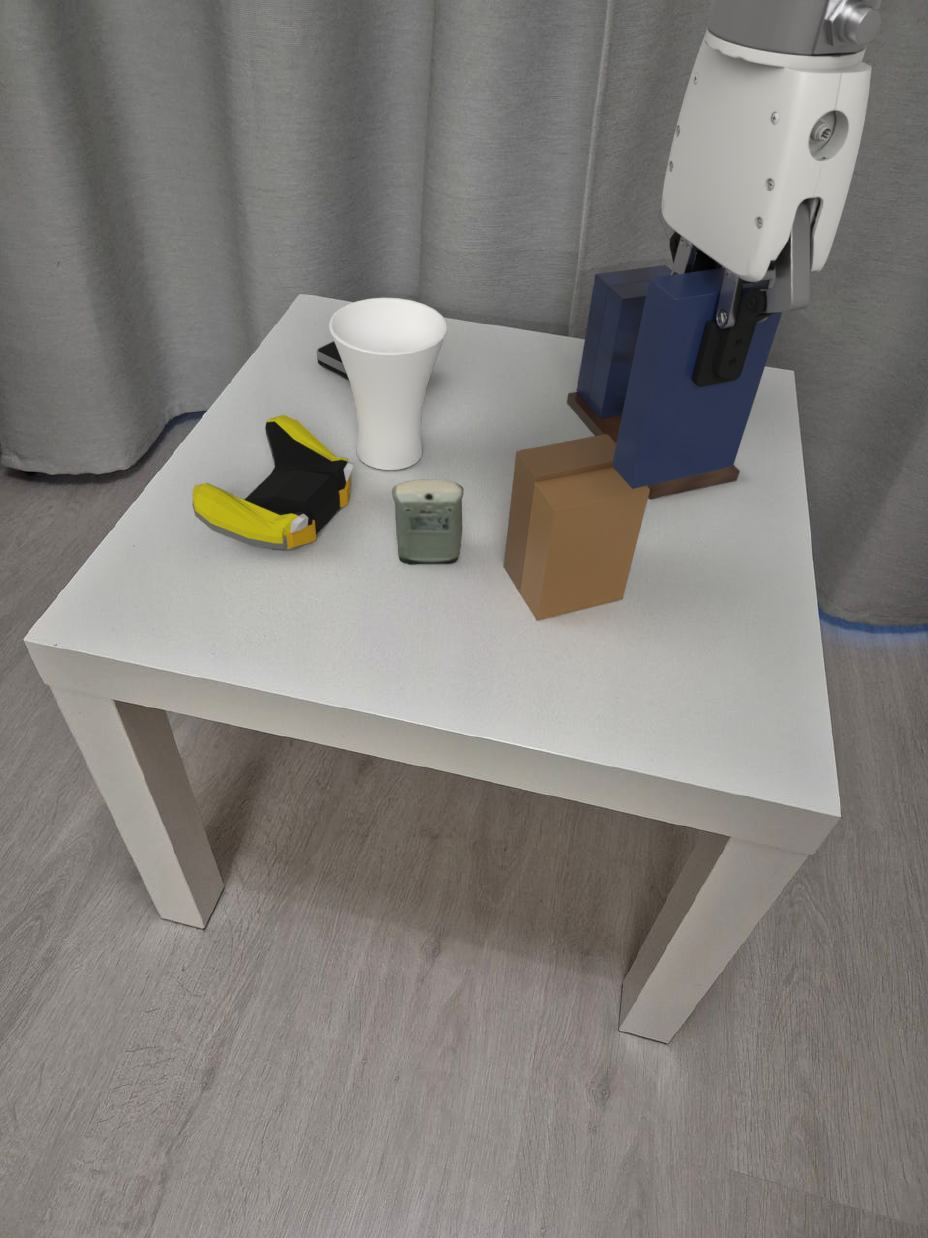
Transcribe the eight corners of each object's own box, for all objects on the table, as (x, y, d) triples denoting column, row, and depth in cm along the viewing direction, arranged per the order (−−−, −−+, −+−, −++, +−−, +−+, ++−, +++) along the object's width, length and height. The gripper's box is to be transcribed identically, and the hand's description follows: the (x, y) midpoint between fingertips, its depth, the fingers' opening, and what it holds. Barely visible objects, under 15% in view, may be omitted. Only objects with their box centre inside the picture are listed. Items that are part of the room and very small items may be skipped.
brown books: (585, 547, 78) (607, 433, 70) (622, 599, 74) (651, 484, 65) (503, 566, 76) (516, 450, 68) (537, 621, 72) (555, 504, 63)
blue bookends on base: (646, 388, 98) (674, 263, 88) (737, 480, 87) (781, 348, 77) (566, 402, 95) (586, 274, 85) (649, 499, 84) (683, 365, 74)
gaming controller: (189, 542, 76) (288, 577, 74) (177, 491, 72) (282, 526, 70) (281, 453, 86) (372, 482, 84) (275, 404, 82) (370, 432, 80)
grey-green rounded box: (414, 586, 74) (415, 511, 68) (381, 552, 77) (380, 477, 71) (469, 562, 76) (475, 488, 71) (435, 529, 79) (438, 456, 73)
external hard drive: (358, 344, 102) (357, 328, 101) (431, 379, 97) (431, 362, 96) (315, 366, 98) (314, 350, 97) (388, 403, 93) (388, 386, 92)
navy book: (710, 444, 62) (764, 261, 53) (733, 466, 60) (792, 280, 51) (611, 465, 59) (649, 277, 50) (632, 489, 58) (675, 298, 48)
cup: (449, 480, 84) (455, 351, 75) (339, 486, 83) (331, 355, 73) (435, 420, 92) (439, 295, 82) (333, 424, 90) (325, 298, 80)
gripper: (981, 54, 37) (832, 425, 50) (754, -24, 48) (679, 301, 61) (841, 62, 35) (723, 449, 48) (635, -21, 45) (584, 316, 58)
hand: (699, 364), depth 54 cm, fingers closed on navy book, 2 cm apart
